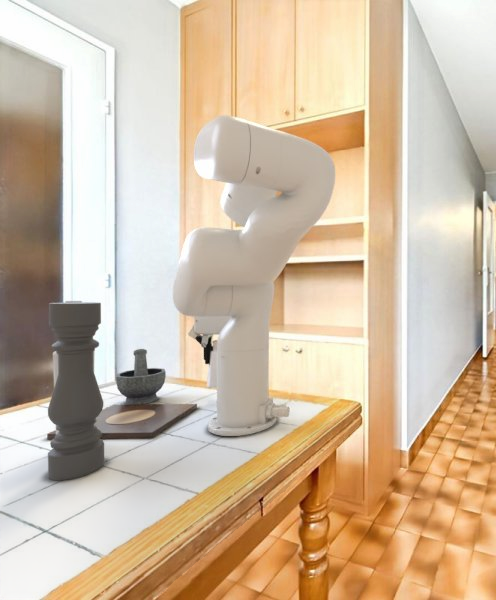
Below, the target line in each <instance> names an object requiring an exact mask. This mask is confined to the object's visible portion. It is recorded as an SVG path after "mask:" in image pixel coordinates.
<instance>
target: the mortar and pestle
mask: <svg viewBox="0 0 496 600" xmlns="http://www.w3.org/2000/svg"><path fill="white" fill-rule="evenodd" d="M147 354H148V350H147V349H145V348H137V349H134V351H133V356H134V364H133V369H131V370H125V371H122V372H119V373H116V375H115V384H116V388H117V390H118V391H119V393H120V394H121V395H123V396H124V397H125V404H151V403H153V402H155V401H157V400H158V396H157V393H158V392H159V391H160V390H161V389H162V388H163V386H164V384H165V381H166V377H167V375H166V370H165V368H158V367H148V361H147V360H148V359H147Z"/></svg>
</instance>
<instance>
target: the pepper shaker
mask: <svg viewBox="0 0 496 600" xmlns="http://www.w3.org/2000/svg"><path fill="white" fill-rule="evenodd" d="M217 340H218V339H214V340H212V346H213V351H211V352H210V362H209V364H208V369H207V379H206V387H207V388H208V389H217Z"/></svg>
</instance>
